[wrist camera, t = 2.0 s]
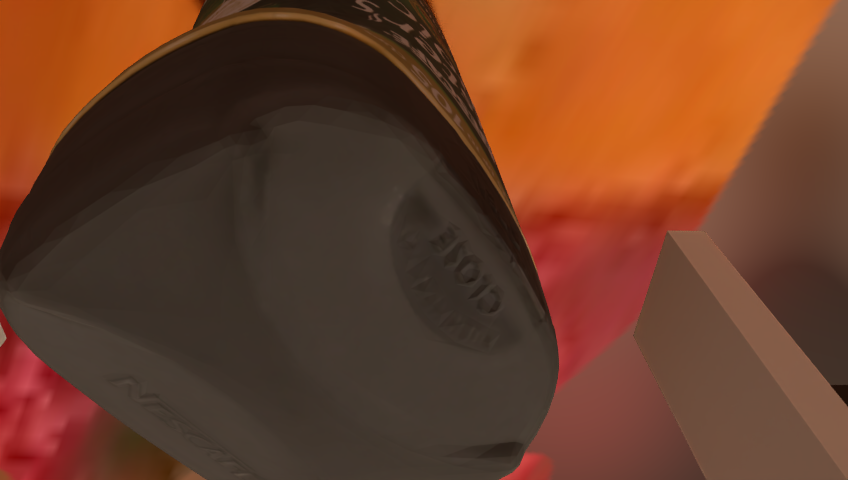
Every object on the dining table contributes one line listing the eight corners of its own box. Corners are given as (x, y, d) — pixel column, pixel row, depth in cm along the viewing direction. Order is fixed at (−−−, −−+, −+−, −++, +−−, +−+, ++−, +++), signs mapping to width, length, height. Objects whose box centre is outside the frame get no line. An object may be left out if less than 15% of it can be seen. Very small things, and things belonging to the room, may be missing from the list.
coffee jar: (485, 91, 26) (656, 477, 11) (332, 183, 28) (291, 623, 13) (352, -138, 21) (318, -26, 6) (177, -7, 23) (-202, 339, 8)
